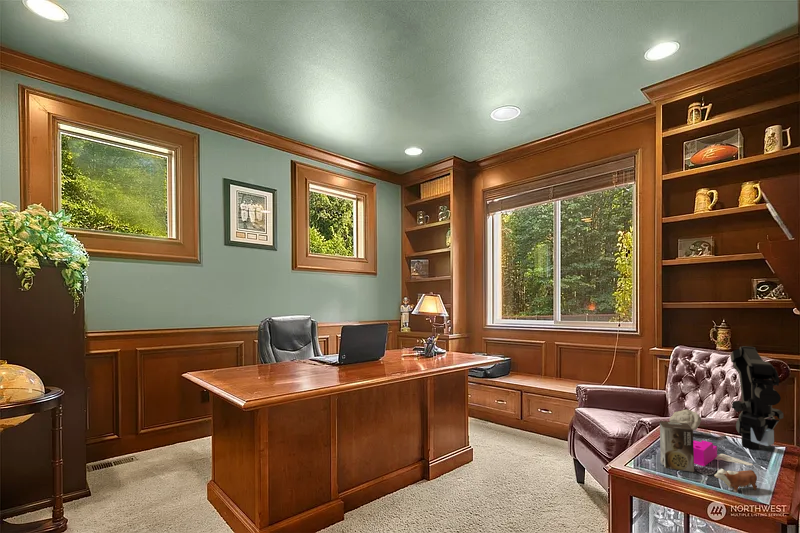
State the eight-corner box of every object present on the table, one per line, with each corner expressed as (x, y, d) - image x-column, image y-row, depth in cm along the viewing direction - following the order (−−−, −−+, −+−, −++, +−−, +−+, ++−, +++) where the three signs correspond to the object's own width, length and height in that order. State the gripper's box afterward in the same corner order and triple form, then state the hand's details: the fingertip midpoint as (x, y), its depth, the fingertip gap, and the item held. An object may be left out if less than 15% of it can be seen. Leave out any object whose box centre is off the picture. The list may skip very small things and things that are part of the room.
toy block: (703, 450, 149) (679, 444, 155) (704, 468, 149) (680, 460, 155) (716, 439, 158) (693, 433, 164) (717, 456, 158) (694, 449, 164)
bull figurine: (712, 491, 134) (711, 466, 134) (750, 489, 135) (749, 464, 135) (723, 499, 129) (723, 473, 129) (763, 496, 130) (762, 471, 130)
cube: (757, 438, 156) (757, 425, 156) (774, 443, 151) (773, 429, 151) (750, 441, 153) (750, 427, 153) (767, 446, 149) (767, 432, 149)
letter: (721, 453, 160) (721, 453, 160) (753, 464, 151) (753, 464, 151) (705, 460, 154) (705, 460, 154) (736, 472, 146) (736, 472, 146)
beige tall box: (688, 467, 150) (687, 422, 150) (694, 475, 144) (694, 429, 144) (659, 463, 153) (659, 420, 153) (664, 471, 147) (664, 426, 147)
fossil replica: (665, 427, 186) (665, 405, 186) (680, 426, 188) (680, 404, 188) (690, 438, 174) (689, 415, 174) (705, 436, 176) (705, 413, 176)
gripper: (747, 388, 164) (748, 427, 164) (723, 395, 155) (723, 436, 155) (783, 395, 154) (784, 437, 154) (759, 403, 145) (760, 447, 145)
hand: (762, 439), depth 152 cm, fingers closed on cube, 5 cm apart
